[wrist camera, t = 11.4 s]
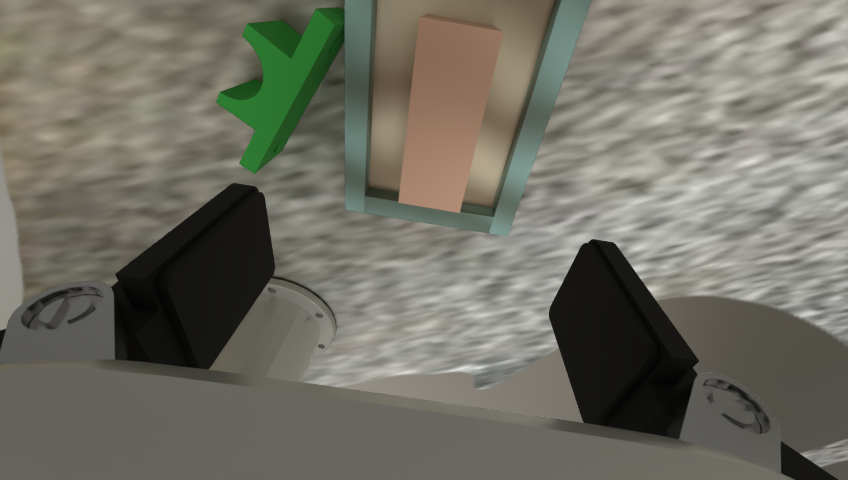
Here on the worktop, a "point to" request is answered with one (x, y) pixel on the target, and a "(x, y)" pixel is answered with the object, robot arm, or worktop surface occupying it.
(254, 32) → the pipe clamp
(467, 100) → the salmon pink rectangular block
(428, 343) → the worktop surface
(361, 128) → the nest board
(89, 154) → the worktop surface
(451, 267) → the worktop surface
